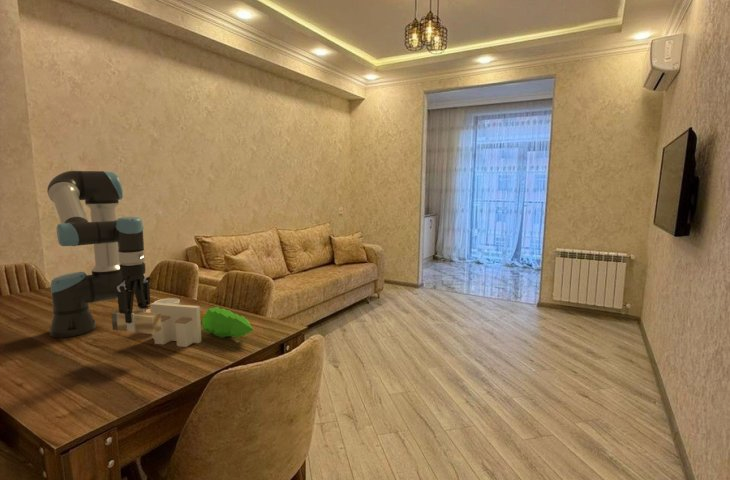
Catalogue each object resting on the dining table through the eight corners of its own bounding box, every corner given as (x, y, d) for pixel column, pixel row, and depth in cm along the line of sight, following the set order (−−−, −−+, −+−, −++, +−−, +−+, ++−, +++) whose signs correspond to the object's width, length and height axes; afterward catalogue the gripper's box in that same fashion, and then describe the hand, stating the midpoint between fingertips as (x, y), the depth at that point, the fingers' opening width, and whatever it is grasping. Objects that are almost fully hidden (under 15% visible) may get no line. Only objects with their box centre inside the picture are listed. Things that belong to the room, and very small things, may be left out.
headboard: (144, 342, 151) (142, 307, 149) (156, 336, 157) (153, 302, 155) (191, 347, 147) (189, 311, 145) (201, 341, 153) (199, 306, 151)
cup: (170, 331, 162) (169, 305, 161) (149, 329, 164) (147, 304, 163) (186, 323, 172) (184, 298, 170) (166, 321, 174) (164, 297, 172)
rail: (153, 334, 134) (152, 317, 133) (112, 329, 137) (111, 313, 136) (161, 329, 138) (160, 313, 137) (121, 325, 141) (120, 309, 140)
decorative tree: (208, 298, 166) (258, 309, 150) (219, 320, 171) (268, 332, 155) (186, 315, 158) (236, 328, 142) (198, 337, 163) (248, 352, 147)
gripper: (121, 269, 125) (126, 339, 129) (159, 258, 142) (163, 321, 145) (101, 267, 126) (107, 337, 130) (141, 257, 143) (145, 319, 147)
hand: (136, 328), depth 138 cm, fingers closed on rail, 4 cm apart
